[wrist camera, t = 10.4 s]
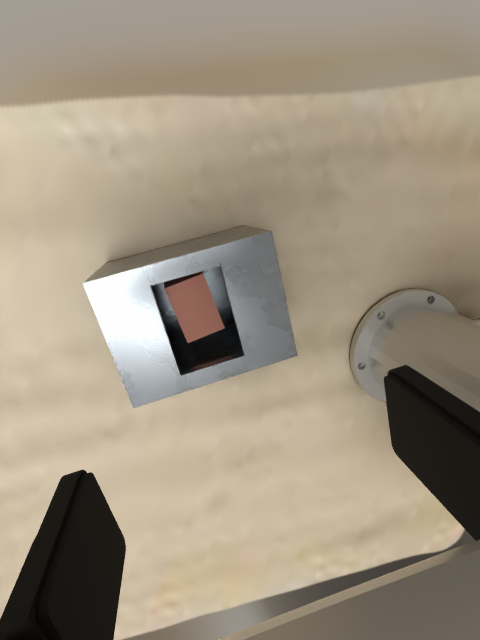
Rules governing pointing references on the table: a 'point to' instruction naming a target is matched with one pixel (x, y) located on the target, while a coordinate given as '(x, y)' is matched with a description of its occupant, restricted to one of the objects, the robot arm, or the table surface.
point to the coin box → (161, 322)
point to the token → (193, 306)
